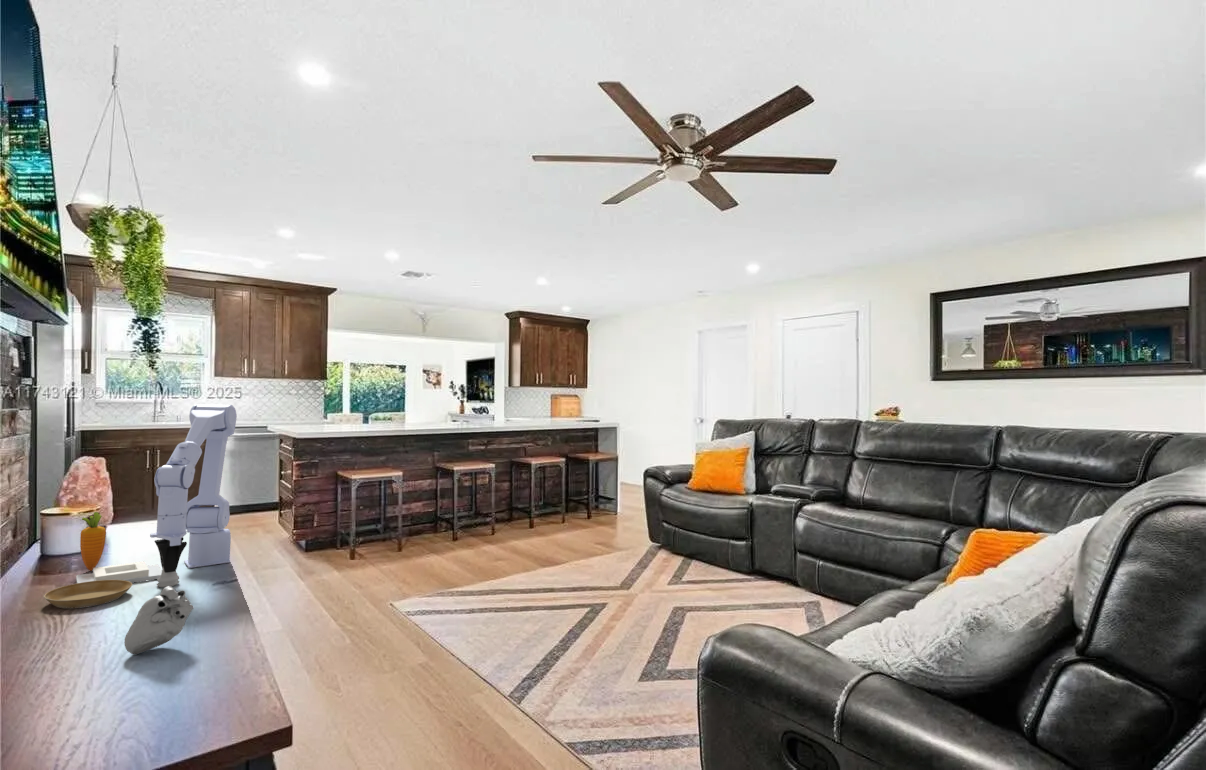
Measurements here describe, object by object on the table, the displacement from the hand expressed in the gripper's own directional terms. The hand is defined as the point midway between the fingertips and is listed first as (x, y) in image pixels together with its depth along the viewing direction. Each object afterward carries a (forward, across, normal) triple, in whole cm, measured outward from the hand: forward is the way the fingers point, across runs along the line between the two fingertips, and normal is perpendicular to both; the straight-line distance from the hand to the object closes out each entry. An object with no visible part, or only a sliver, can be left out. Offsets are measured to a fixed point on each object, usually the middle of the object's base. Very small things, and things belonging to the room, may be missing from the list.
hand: (168, 570), depth 139 cm
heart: (+4, +43, -7) cm, 44 cm away
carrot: (+4, -26, -13) cm, 29 cm away
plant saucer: (+4, +2, -14) cm, 15 cm away
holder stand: (+4, -13, -8) cm, 16 cm away
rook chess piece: (+4, 0, 0) cm, 4 cm away
